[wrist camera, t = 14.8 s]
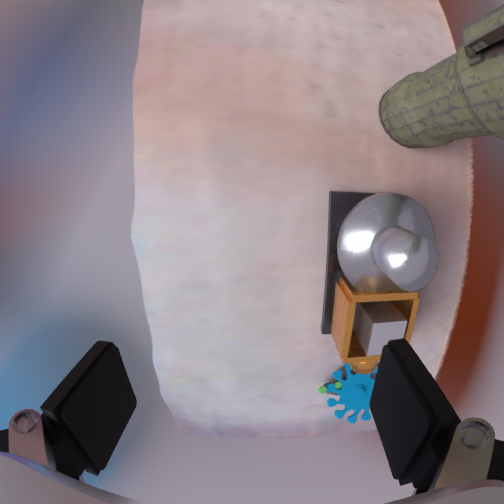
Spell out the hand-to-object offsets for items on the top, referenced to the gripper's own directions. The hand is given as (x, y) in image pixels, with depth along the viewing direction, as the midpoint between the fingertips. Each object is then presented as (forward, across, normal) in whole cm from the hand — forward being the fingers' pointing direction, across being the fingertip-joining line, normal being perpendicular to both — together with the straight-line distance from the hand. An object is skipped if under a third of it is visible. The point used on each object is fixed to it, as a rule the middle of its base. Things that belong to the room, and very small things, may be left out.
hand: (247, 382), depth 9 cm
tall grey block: (+26, -13, +10) cm, 31 cm away
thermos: (+28, -20, -15) cm, 37 cm away
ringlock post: (+27, -13, +6) cm, 31 cm away
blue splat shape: (+27, -13, +24) cm, 39 cm away
